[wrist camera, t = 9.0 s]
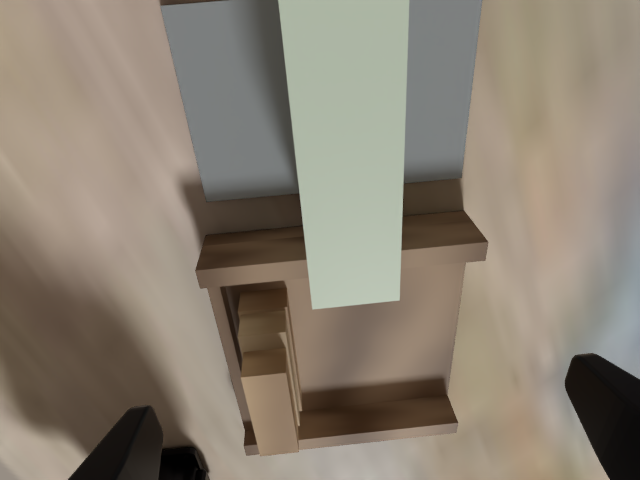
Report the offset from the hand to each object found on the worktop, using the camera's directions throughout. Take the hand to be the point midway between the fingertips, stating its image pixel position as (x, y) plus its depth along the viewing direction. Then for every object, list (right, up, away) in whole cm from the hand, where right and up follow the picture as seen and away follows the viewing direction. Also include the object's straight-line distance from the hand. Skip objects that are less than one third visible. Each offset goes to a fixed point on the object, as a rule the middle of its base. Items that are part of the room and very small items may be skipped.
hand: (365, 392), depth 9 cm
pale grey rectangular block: (-1, +9, +9) cm, 13 cm away
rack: (0, -2, +16) cm, 16 cm away
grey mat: (-1, +9, +9) cm, 13 cm away
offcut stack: (-4, -3, +15) cm, 16 cm away
